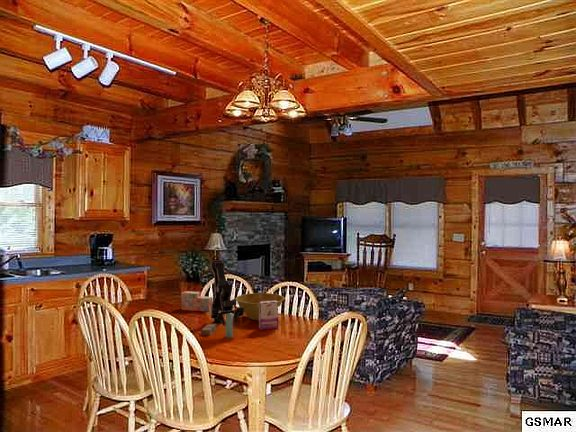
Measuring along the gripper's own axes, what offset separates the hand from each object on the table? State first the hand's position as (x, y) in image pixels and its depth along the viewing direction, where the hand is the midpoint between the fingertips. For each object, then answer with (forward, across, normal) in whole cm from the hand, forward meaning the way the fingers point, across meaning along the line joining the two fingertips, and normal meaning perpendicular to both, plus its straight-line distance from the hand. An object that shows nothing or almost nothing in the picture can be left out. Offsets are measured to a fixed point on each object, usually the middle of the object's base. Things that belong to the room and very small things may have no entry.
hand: (229, 325), depth 258 cm
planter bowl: (-21, +28, +31) cm, 46 cm away
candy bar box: (-3, +26, +12) cm, 29 cm away
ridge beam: (-5, -9, +15) cm, 18 cm away
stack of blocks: (-46, -8, +56) cm, 74 cm away
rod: (+4, 0, +6) cm, 7 cm away
